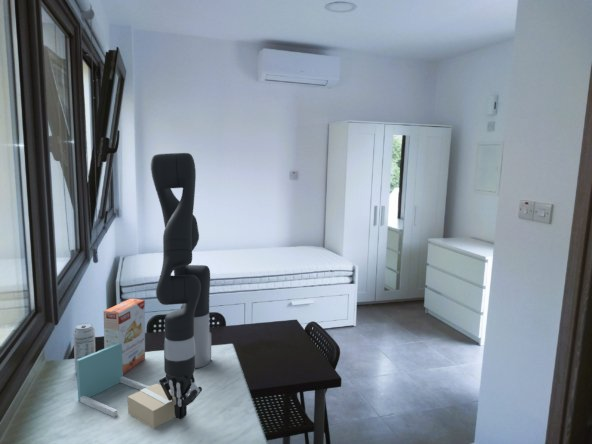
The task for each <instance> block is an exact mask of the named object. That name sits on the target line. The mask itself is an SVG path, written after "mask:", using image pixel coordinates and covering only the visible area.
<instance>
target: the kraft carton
mask: <svg viewBox="0 0 592 444" xmlns="http://www.w3.org/2000/svg"><path fill="white" fill-rule="evenodd" d="M169 392H170V394H171V391H170V390H169ZM127 413H128V415H130V416H132V417H134V418H136V419H137V420H139V421H140V422H142V423H144V424H145V425H146V426H148V427H150V428H152V429H155V428H157V427H159V426H161V425H162V424H163V425H164V423H166V422H168V421H171V420H172V419H174V418H176V417H175V408H174V404H173V401H172V400H171V401H169V400H168V398H167V396H166V394H165V392H164V390H163V388H162V386H161V384H160V383H159V384H158V383H155V384H152V385H150V387H147V388H144V389H142V390H138V391H136V392H134V393H133V394H130V395H128V396H127Z"/></svg>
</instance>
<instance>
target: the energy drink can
mask: <svg viewBox="0 0 592 444" xmlns="http://www.w3.org/2000/svg"><path fill="white" fill-rule="evenodd" d="M72 335H73V337H72V338H73V353H74V355H73V356H74V372H75V373H77V361H76V360H78V359H80V358H82V357H85V356H87V355H90V354H92V353H95V352H96V333H95V328H94V326H93V324H92V323H90V322H89V323H88V322H86V323H80V324H77V325H76V326H75V327H74V330H73V333H72Z"/></svg>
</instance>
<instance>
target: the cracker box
mask: <svg viewBox="0 0 592 444" xmlns="http://www.w3.org/2000/svg"><path fill="white" fill-rule="evenodd" d="M145 302H146V301H145V300H144V299H138V298H129V299H127V300H125V301H122V302H120V303H117V304H116V305H114V306H112V307H109V308H106V309H105V310H104V311H103V338H104V339H103V343H104V344H103V346H104V348H103V349H105V348H107V347H110V346H112V345H115V344H117V343H122V367H123V375H124V374H126V373H128V372H129V371H130V370H131V369H133V368H134V367H135V366H137V365H138V364H139V363H141V362H142V361H144V360H145V359H146V326H145V325H146V322H145V321H146V317H145V316H146V313H145V312H146V311H145V309H146V308H145V307H146V306H145V304H146V303H145Z"/></svg>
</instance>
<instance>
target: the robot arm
mask: <svg viewBox="0 0 592 444" xmlns="http://www.w3.org/2000/svg"><path fill="white" fill-rule="evenodd" d="M150 160H151V161H150V172H151V177H152V181H153V185H154V187H155V192H156V195H157V198H158V202H159V205H160V208H161V212H162V218H163V224H164V231H163V234H162V236H163V238H162V239H163V240H162V245H163V251H162V253H163V255H162V256H163V259H162V260H163V261H162V265H161V266H162V267H161V272H160V275H159V279H158V282H157V284H156V285H157V286H156V289H155V290H156V291H155V295H156V298H157V301H158V302H159V303H160V304H161V305H163V306H170V305H180V309H179V310H173V311H170V312H169V313H167V314H166V315H165V317H164V343H163V356H164V359H163V360H164V363H163V365H164V366H163V367H164V368H163V369H164V370H163V371H164V374H165V376H162V377H161V378H160V379H159V380H158V382H159V385H161V386H162V388H163V390H164V392H165V394H166V396H167V398H168V400H169V401H171V400H172V401H173V404H174V408H175V417H174V418H176V419H177V420H183V419H184V418H185V417H186V416H187V414H188V413H187V410H188V409H187V407H188V406H189V405H190V404H192V403H193V402H194V401H195V400H196V399H197V397H198V396H199V395H200V393H201V392H202V390H203V388H202V387H201V386H197V385H196V380H195V377H194V372H195V369H199V368H203V367H206V366H207V365H208V364H209V363H210V361H211V360H212V332H210V289H211V270H210V268H209V266H208V265H203V264H201V265H200V264H197V265H196V264H192V261H193V251H194V250H195V249H196V246H197V245H198V243H199V241H200V233H199V226H198V221H197V218H196V216H195V215H194V209H195V208H194V205H195V194H196V181H197V180H196V179H197V178H196V176H197V175H196V174H197V173H196V172H197V171H196V163H195V159H194V156H192V154H191V153H188V152H179V153H178V152H175V153H158V154H154V155H153V156H152V157H151V159H150ZM172 189H182V192H181V193H182V194H181V198H180V200H179V199H178V198H177V197H176V195H175V194H174V192H173V190H172ZM172 273H173V274H174V275H172ZM169 390H170V391H171V394H170V392H169Z"/></svg>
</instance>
